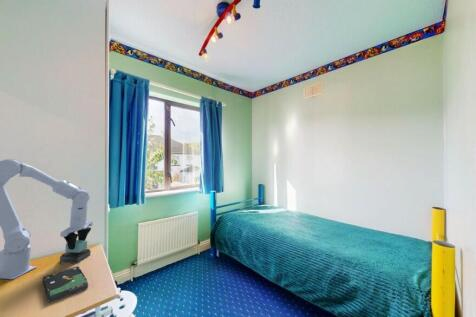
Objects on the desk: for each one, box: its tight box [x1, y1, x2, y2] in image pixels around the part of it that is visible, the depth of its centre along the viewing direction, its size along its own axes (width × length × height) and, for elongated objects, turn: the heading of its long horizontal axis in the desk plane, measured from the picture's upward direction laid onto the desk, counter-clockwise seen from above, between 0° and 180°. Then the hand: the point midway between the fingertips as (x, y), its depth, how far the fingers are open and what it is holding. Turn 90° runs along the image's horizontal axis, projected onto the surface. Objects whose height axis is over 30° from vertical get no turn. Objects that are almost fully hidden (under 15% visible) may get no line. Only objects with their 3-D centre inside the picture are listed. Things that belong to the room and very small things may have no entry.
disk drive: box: [42, 265, 89, 304], centre depth 69 cm, size 10×3×15 cm
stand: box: [59, 248, 92, 264], centre depth 87 cm, size 8×7×3 cm
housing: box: [64, 239, 88, 253], centre depth 87 cm, size 4×6×3 cm
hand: (76, 246), depth 87 cm, fingers closed on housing, 4 cm apart
